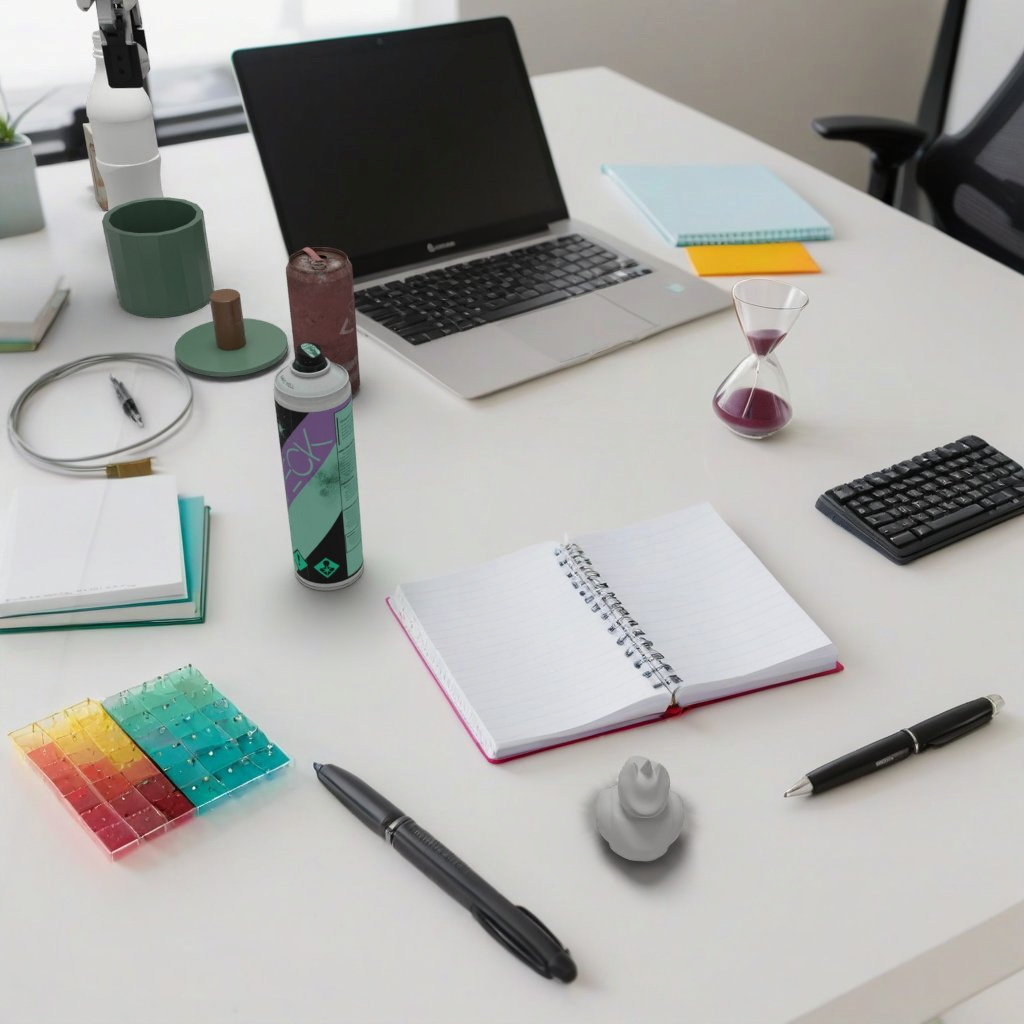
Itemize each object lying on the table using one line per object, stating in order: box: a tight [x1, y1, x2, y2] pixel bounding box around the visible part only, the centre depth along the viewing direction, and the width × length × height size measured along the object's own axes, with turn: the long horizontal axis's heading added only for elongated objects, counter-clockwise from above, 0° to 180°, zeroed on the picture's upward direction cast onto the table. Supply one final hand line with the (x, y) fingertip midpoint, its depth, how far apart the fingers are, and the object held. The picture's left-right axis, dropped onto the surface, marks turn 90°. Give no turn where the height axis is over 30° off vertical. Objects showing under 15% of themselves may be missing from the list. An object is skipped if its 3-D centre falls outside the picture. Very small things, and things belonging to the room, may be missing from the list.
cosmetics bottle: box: [82, 122, 108, 211], centre depth 148 cm, size 5×4×10 cm
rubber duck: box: [594, 755, 685, 862], centre depth 70 cm, size 5×7×8 cm
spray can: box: [272, 343, 364, 592], centre depth 86 cm, size 6×6×20 cm
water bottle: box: [85, 29, 165, 212], centre depth 132 cm, size 7×7×25 cm
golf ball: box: [133, 41, 151, 80], centre depth 111 cm, size 4×4×4 cm
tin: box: [101, 196, 215, 319], centre depth 127 cm, size 10×10×10 cm
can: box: [285, 246, 361, 397], centre depth 110 cm, size 6×6×14 cm
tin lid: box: [174, 288, 289, 377], centre depth 118 cm, size 11×11×7 cm
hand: (130, 77), depth 112 cm, fingers closed on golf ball, 4 cm apart
